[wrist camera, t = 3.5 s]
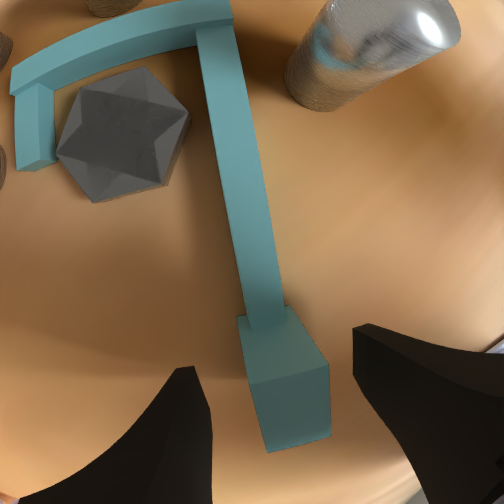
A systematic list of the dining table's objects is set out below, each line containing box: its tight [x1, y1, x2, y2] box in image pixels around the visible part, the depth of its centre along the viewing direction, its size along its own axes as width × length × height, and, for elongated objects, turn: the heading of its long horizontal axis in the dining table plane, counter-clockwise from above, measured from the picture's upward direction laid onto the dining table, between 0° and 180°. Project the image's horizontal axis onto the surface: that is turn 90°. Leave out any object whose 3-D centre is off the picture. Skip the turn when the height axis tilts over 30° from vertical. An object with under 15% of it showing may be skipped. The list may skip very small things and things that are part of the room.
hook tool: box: [10, 0, 331, 453], centre depth 7 cm, size 14×9×4 cm, turn 10°
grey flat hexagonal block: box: [55, 66, 192, 203], centre depth 8 cm, size 4×5×1 cm
